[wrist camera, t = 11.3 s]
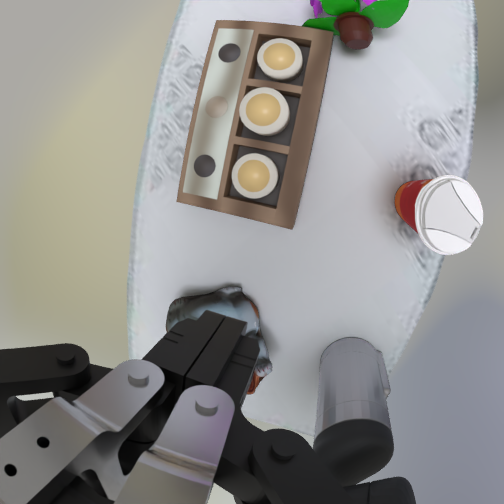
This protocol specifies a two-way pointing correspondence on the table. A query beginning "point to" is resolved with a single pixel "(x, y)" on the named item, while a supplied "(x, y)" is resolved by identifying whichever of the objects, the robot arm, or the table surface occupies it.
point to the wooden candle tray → (242, 138)
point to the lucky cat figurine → (230, 305)
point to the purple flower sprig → (356, 18)
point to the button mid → (264, 111)
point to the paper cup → (441, 212)
